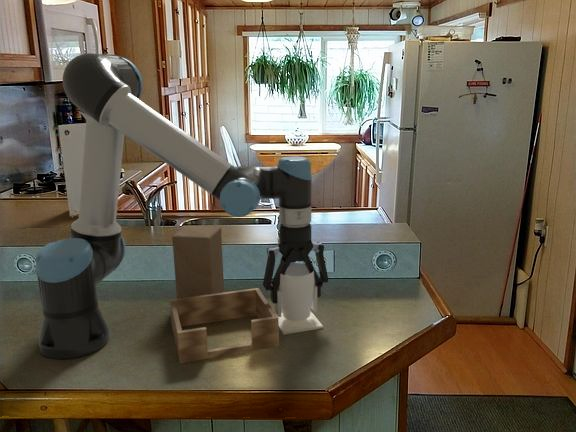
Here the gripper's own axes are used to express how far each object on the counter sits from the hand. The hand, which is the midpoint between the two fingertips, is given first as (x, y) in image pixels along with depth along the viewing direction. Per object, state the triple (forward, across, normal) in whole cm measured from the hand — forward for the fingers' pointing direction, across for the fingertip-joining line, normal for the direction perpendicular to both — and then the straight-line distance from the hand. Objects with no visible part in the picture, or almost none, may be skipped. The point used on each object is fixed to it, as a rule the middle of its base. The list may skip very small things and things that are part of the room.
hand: (296, 311), depth 128 cm
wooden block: (+3, -20, +20) cm, 29 cm away
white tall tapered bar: (+3, -55, +138) cm, 149 cm away
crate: (+3, -18, -1) cm, 19 cm away
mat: (+3, 0, 0) cm, 3 cm away
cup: (+1, 0, 0) cm, 1 cm away
